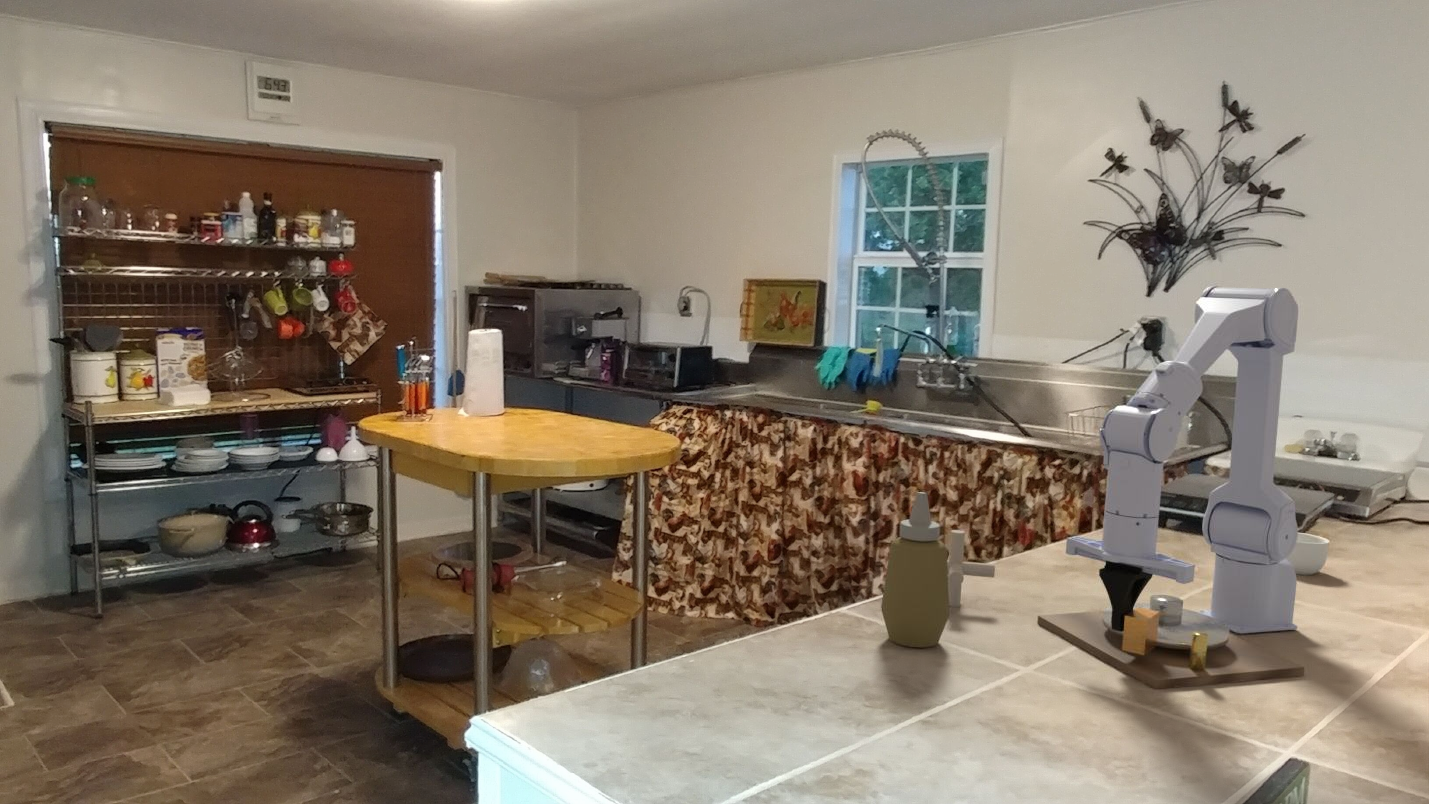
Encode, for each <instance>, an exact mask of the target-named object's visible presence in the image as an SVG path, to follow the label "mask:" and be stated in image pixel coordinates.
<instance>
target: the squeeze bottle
mask: <svg viewBox="0 0 1429 804" xmlns="http://www.w3.org/2000/svg"><path fill="white" fill-rule="evenodd" d="M911 508H912V509H911V513H910V515H909V519H904V520H901V521H900V522H899V537H897V538H895V539H894V540H893V541H891V543H890V550H889V556H888V560H887V561H888V562H887V566H886V567H887V568H886V573H885V574H886V575H885V580H884V588H883V594H882V599H881V604H880V605H881V607H880V608H881V614H882V617H883V619H884V620H883V621H884V625H885V627H886V631H887V636H888V638H889V640H890V641H892V642H893V643H895V644H897V645H900V646H904V647H910V648H921V649H922V648H930V647H934V646H936V645H938V643H940V642H939V641H940V639H941V637H942V634H943V632H944V631H945V627H946V625H947V622H948V620H949V619H950V618H949V617H950V606H949V591H948V567H947V560H948V548H947V546H946V545H945V544H944V542H943V541H940V540H939V539H940V536H941V535H940V532H941V531H940V530H941V525H940V524H939V522H936V521H934V520H933V521H932V518H931V511H930V506H929V498H928V494H927V492H924V491H920V492H919V491H918V492H916V493H915V499H914V501H913V505H912V507H911Z"/></svg>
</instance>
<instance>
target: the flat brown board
mask: <svg viewBox="0 0 1429 804" xmlns="http://www.w3.org/2000/svg"><path fill="white" fill-rule="evenodd" d="M1102 616H1103V610H1102V611H1101V610H1100V611H1086V612H1071V613H1070V612H1069V613H1058V614H1057V613H1055V614H1053V613H1052V614H1041V615H1040V614H1039V615H1037V624H1038V625H1041V626H1042V627H1043V628H1045V629H1047V630H1049V631H1051V632H1053V633H1055V634H1056V635H1057V636H1059V637H1062V638H1063V639H1065V640H1067V641H1068V642H1070V643H1072V644H1074V645H1076V646H1077V647H1079V648H1081V649H1083V650H1084V651H1086V652H1088V653H1090V654H1091V655H1093V656H1096V657H1097V658H1098V659H1101V660H1102V661H1104V662H1106V663H1107V664H1109V665H1111V666H1113V668H1117V669H1118V670H1120V671H1121V672H1124V673H1125V674H1127V675H1128V676H1131V677H1132V678H1134V679H1136V680H1138V681H1140V682H1141V683H1143V684H1145V685H1147V686H1148V687H1151V688H1152V689H1154V690H1161V689H1172V688H1181V687H1191V686H1192V687H1193V686H1194V687H1195V686H1203V685H1213V684H1214V685H1215V684H1227V683H1236V682H1238V683H1239V682H1245V681H1246V682H1248V681H1260V680H1270V679H1280V678H1281V679H1282V678H1293V677H1302V676H1305V666H1303V665H1301V664H1299V663H1296V662H1294V661H1293V660H1290V659H1287V658H1285V657H1284V656H1280V655H1279V654H1277V653H1274V652H1271V651H1269V650H1267V649H1265V648H1262V647H1261V646H1259V645H1256V644H1254V643H1251V642H1249V641H1247V640H1245V639H1242V638H1241V637H1238V636H1235V635H1234V634H1232V633H1229V642H1228V643H1227V644H1226V645H1224V646H1222V647H1219V648H1214V649H1207V652H1206V663H1205V671H1202V672H1199V671H1194V670H1191V669H1190V668H1189V662H1190V651H1191V650H1186V649H1174V648H1166V647H1160V646H1155V647H1154V648H1153V649H1152V650H1150V651H1149V652H1148V653H1147V654H1145V655H1140V654H1136V653H1132V652H1128V651H1124V650H1122V646H1123V636H1120V635H1118V634H1116V633H1114V632H1112V631H1110V630H1109V629H1107V628H1106V627H1105V626H1104V625H1103V623H1102Z"/></svg>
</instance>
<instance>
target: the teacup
mask: <svg viewBox="0 0 1429 804" xmlns="http://www.w3.org/2000/svg"><path fill="white" fill-rule="evenodd" d="M1329 548H1330V540H1329V539H1328V538H1325V537H1323V536H1319V535H1315V534H1310V533H1306V532H1305V533H1304V532H1298V535H1297V541H1296V545H1295V547H1294V549H1293V551H1292V553H1291V554H1290V555H1289V556H1288V557H1287V558H1286V560H1288V561H1289V562H1290V563H1291V565H1292V566H1293V568H1294V571H1295V574H1296V575H1303V576H1309V575H1310V576H1311V575H1314V574H1317V573H1318V572H1319V571H1321V570H1322V569H1323V567H1324V566H1325V564H1326V561H1327V558H1328V553H1329Z"/></svg>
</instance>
